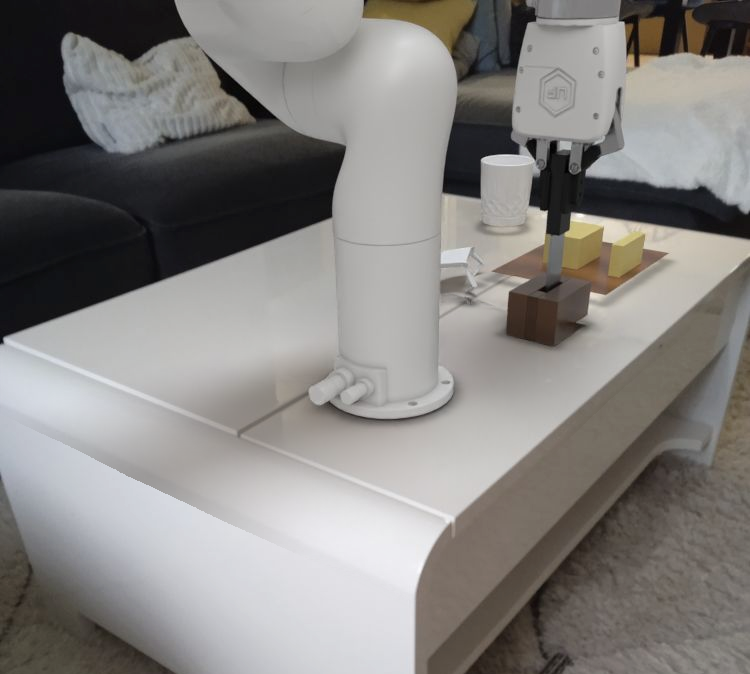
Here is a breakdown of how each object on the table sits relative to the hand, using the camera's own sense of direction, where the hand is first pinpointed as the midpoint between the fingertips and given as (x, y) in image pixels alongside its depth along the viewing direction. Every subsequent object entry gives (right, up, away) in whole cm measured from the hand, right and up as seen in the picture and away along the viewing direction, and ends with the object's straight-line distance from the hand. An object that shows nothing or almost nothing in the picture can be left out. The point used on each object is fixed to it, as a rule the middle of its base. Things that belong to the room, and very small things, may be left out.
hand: (559, 208), depth 86 cm
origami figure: (-9, -5, +18) cm, 21 cm away
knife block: (0, -11, +7) cm, 13 cm away
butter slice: (+13, -1, +20) cm, 24 cm away
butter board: (+8, 0, +24) cm, 25 cm away
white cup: (+1, +12, +42) cm, 43 cm away
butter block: (+7, +2, +24) cm, 25 cm away
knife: (0, -8, +5) cm, 9 cm away
